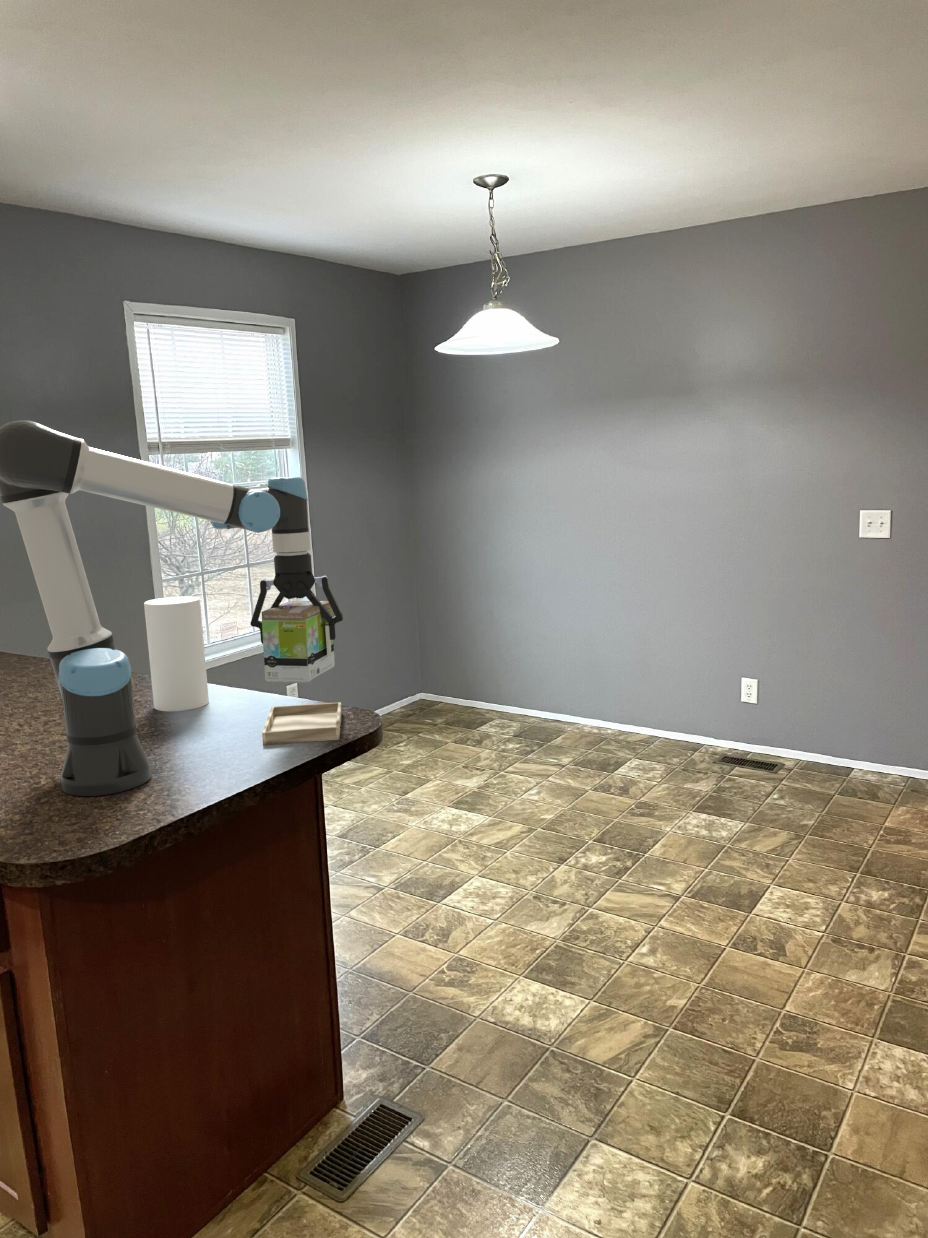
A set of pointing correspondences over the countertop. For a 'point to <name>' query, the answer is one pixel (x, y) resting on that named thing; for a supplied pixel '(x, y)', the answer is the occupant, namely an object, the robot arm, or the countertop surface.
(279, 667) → the tea box
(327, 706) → the tray
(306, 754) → the countertop surface
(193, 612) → the cylinder
